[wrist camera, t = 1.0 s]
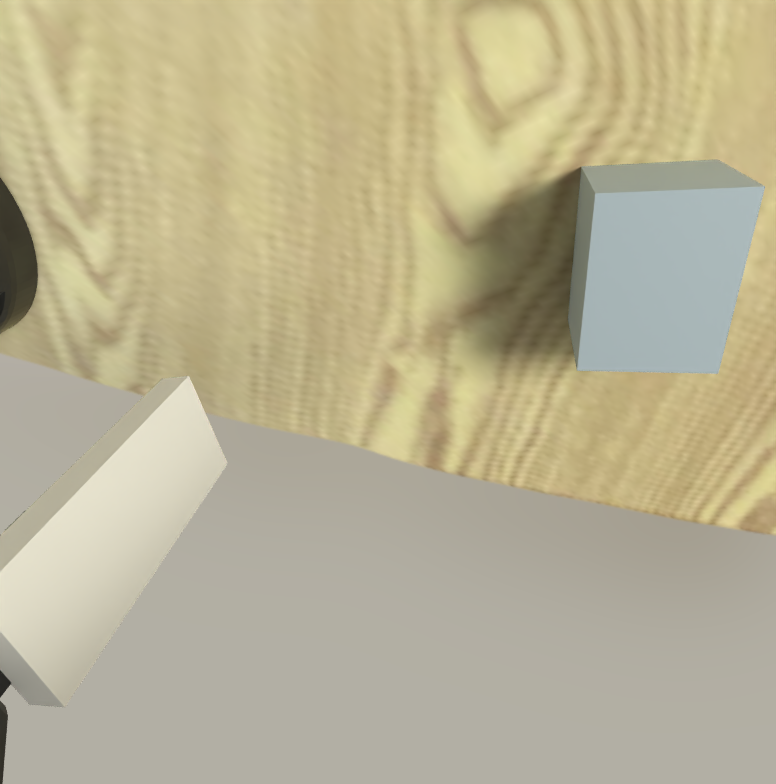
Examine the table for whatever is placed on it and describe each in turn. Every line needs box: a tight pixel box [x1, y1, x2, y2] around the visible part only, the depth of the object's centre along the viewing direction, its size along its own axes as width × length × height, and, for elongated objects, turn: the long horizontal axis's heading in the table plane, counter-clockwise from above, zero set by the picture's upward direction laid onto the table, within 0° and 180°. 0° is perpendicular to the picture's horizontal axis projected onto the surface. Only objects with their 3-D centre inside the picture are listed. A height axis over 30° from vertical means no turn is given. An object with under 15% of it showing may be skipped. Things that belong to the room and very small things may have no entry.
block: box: [568, 160, 765, 374], centre depth 26 cm, size 6×8×6 cm
